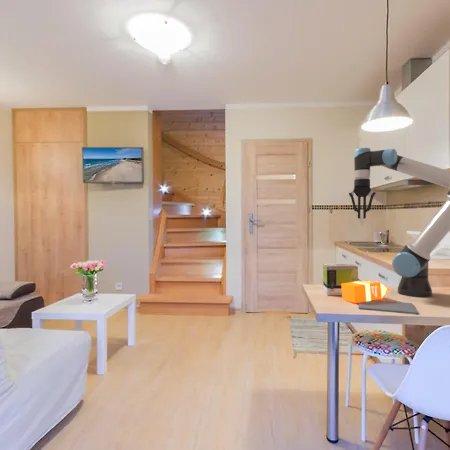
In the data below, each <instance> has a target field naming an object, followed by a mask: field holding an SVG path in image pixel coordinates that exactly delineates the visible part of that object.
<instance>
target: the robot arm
mask: <svg viewBox="0 0 450 450" xmlns="http://www.w3.org/2000/svg"><path fill="white" fill-rule="evenodd" d="M353 157H354V158H353V160H354V163H353V164H354V165H353V166H354V171H353V172H354V173H353V176H354V180H353V182H354V183H353V184H354V185H353V186H354V187H353V189H352V190H353V191H351V192H349V193H348V196H349V197H350V200H351V203H352V207H353V208H352V209H353V210H354V212H357V219H358V220H359V226H364V219H366V217H367V213H368V212H370V210H371V207H372V203H373V199H374V198H375V197H374V196H375V195H376V194H377V193H376V192H375V191H373V190H372V188H371V179H370V178H371V168H372V167H384V168H386V169H389V170H393V171H396V172H399V173H402V174H405V175H408V176H409V177H414V178H417V179H420V180H423V181H425V182H429V183H431V184H434V185H437V186H440V187H443V188H446V189H449V191H448V192H447V193H446V200H445V201H444V203H443V204H442V205H441V207H440V208H439V209H438V210H437V212H436V213H435V214H434V215H433V217H431V219H430V220H429V222H428V223H427V224H426V225H425V226H424V228H423V229H422V230H421V231H420V233H419V234H418V235H417V236H416V237H415V239H414V240H413V241H412V242H411V243H407V244H406V245H405V246H404V247H402V249H401V250H400V252H399V253H397V254H395V256H394V257H393V259H392V261H391V266H392V269H393V270H394V272H395V274H397V275H398V276H400V277H401V278H400V280H399V283H398V286H397V293H398V294H400V295H403V296H408V297H409V296H410V297H418V298H419V297H420V298H421V297H422V298H425V297H426V298H428V297H432V296H433V289H432V287H431V284H430V280H429V262H430V260H432V259H431V253H432V252H433V251H434V250H435V249H436V248H437V246H438V245H439V244H440V242H442V240H443V239H444V238H445V237H446V235H448V233H449V232H450V170H448V169H444V168H441V167H437V166H434V165H432V164H428V163H424V162H422V161H419V160H415V159H411V158H408V157H405V156H402V155H398V152H397V150H396V149H395V148H386V149H381V150H374V151H373V150H371V148H370V147H359V148H356V149H355V150H354V156H353ZM354 195H355V196H356V197H357V206H356V203H355V202H356V201H355V198H354ZM369 195H370V197H369V202H368V206H367V197H368V196H369ZM361 198H362V199H363V201H362V203H363V204H362V205H363V208H362V211H363V212H361Z"/></svg>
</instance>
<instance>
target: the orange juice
mask: <svg viewBox="0 0 450 450" xmlns="http://www.w3.org/2000/svg"><path fill="white" fill-rule="evenodd" d="M390 290H391V288H389V287H388V286H386V285H385V284H383V283H381V282H380V281H373V280H365V279H364V280H358V281H357V282H350V283H343V284H342V295H341V297H342V300H343V301H346V302H349V303H353V304H358V303H359V302H365V301H371V300H382V299H383V298H384V297H385V296H386V294H387V293H388V292H389V291H390Z"/></svg>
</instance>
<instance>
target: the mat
mask: <svg viewBox="0 0 450 450" xmlns="http://www.w3.org/2000/svg"><path fill="white" fill-rule="evenodd" d="M357 305H358V309H359V310H367V311H377V312H378V311H379V312H391V313H400V314H413V315H419V311H418V310H417V309H416V307H415V306H414V304H413V303H412V302H404V301H402V302H401V301H392V300H381V299H377V300H371V301H365V302H359V303H357Z"/></svg>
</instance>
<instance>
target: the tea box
mask: <svg viewBox="0 0 450 450" xmlns="http://www.w3.org/2000/svg"><path fill="white" fill-rule="evenodd" d="M322 271H323V272H322V273H323V275H322V276H323V278H322V281H323V282H322V283H323V285H322V287H323V288H322V289H323V292H324V293H325V294H326V296H342V284H343V283H350V282H357V281H359V268H358V265H355V264H354V263H323V264H322Z"/></svg>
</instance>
